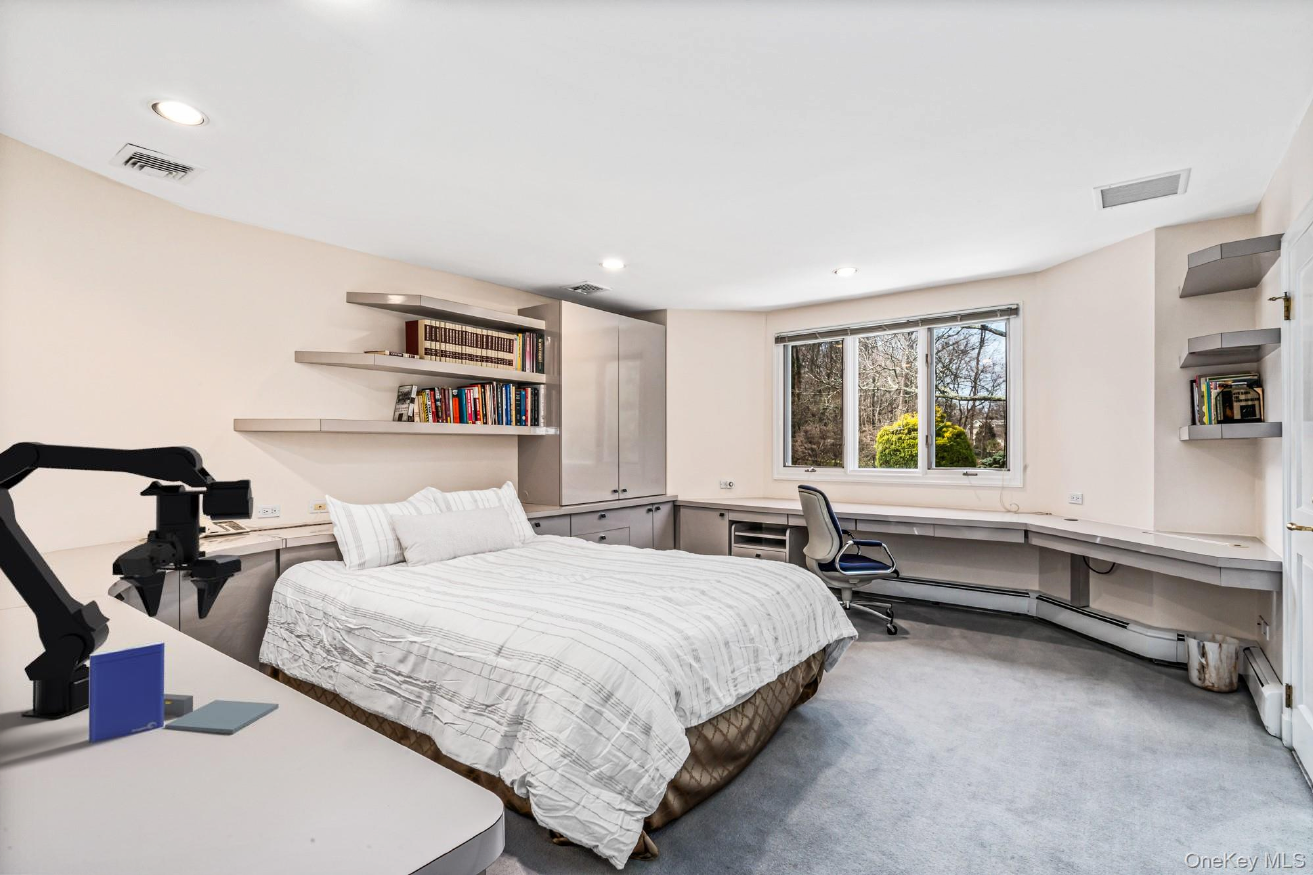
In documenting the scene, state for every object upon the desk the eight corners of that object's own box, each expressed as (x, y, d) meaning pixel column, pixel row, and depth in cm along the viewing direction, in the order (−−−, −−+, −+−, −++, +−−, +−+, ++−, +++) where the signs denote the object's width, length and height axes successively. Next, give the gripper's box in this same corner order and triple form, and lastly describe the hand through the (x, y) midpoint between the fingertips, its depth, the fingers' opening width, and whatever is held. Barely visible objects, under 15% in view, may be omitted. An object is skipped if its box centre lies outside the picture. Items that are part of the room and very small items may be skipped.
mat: (164, 728, 92) (164, 724, 92) (215, 703, 101) (215, 699, 101) (233, 733, 91) (233, 729, 91) (278, 707, 100) (278, 703, 100)
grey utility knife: (114, 712, 98) (114, 696, 98) (125, 707, 100) (126, 691, 100) (182, 716, 96) (182, 700, 96) (192, 711, 98) (193, 695, 98)
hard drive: (164, 727, 93) (165, 643, 93) (89, 747, 87) (90, 656, 87) (162, 724, 94) (163, 640, 94) (88, 743, 88) (89, 653, 88)
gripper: (77, 527, 97) (76, 629, 97) (186, 530, 95) (185, 634, 95) (145, 519, 108) (144, 610, 108) (244, 521, 106) (243, 614, 106)
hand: (177, 617), depth 104 cm, fingers open, 9 cm apart
